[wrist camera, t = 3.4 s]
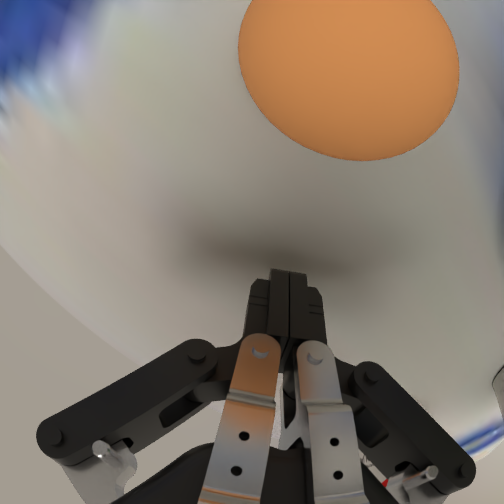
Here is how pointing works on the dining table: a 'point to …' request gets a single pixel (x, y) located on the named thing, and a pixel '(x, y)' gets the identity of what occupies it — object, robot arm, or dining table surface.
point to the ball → (350, 72)
